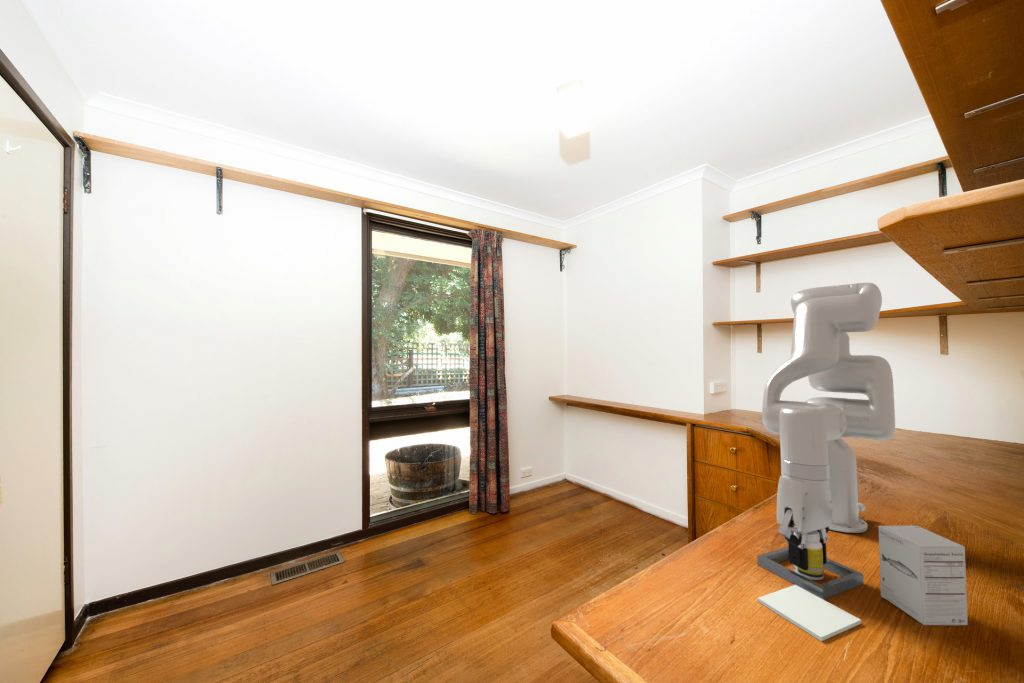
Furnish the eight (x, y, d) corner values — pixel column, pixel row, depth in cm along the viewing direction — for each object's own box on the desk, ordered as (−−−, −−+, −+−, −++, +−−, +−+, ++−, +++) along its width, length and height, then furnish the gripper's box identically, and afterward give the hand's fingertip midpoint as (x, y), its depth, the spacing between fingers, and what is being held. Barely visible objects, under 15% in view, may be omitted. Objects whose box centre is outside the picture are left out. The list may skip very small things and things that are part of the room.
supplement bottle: (830, 581, 72) (828, 536, 72) (805, 581, 72) (803, 536, 72) (810, 566, 77) (809, 524, 77) (787, 567, 77) (785, 525, 77)
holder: (796, 552, 82) (795, 544, 82) (863, 583, 71) (863, 574, 71) (757, 564, 78) (757, 555, 78) (823, 599, 67) (822, 589, 67)
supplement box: (878, 596, 67) (875, 524, 68) (921, 596, 67) (918, 524, 68) (922, 626, 60) (918, 545, 60) (971, 626, 60) (966, 545, 60)
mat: (795, 587, 70) (795, 584, 70) (861, 623, 61) (861, 619, 61) (757, 601, 67) (757, 597, 67) (821, 641, 57) (821, 637, 57)
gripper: (811, 460, 82) (814, 546, 81) (756, 469, 76) (759, 562, 75) (852, 469, 75) (856, 564, 74) (795, 481, 69) (799, 584, 68)
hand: (807, 562), depth 75 cm, fingers closed on supplement bottle, 4 cm apart
